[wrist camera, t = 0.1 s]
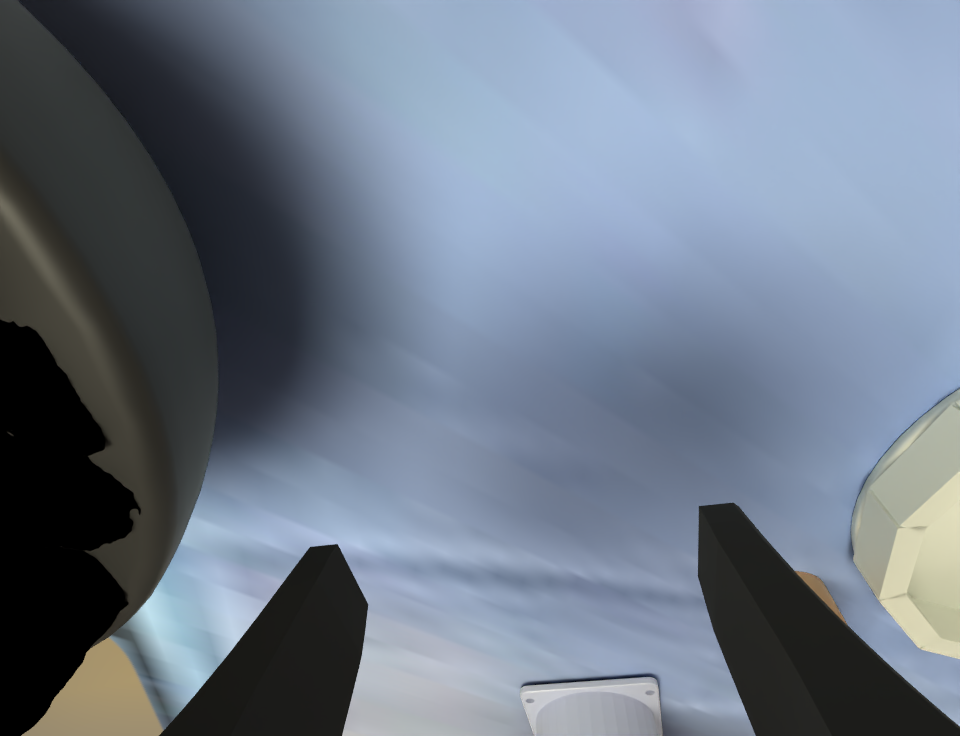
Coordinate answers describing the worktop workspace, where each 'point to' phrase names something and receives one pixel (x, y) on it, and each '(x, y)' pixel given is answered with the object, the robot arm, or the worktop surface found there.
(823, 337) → the worktop surface
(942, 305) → the worktop surface
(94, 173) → the bowl of black rocks
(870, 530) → the tray
